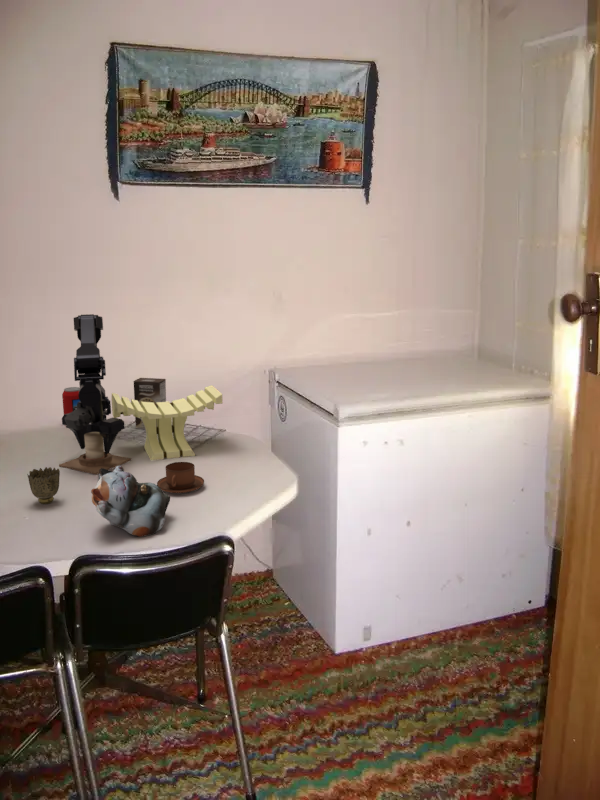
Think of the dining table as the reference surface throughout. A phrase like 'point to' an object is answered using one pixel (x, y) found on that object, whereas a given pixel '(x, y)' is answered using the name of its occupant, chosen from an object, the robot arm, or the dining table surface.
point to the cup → (44, 484)
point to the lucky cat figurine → (130, 502)
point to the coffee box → (149, 394)
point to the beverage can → (70, 399)
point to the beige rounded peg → (94, 446)
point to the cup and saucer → (180, 478)
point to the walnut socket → (94, 463)
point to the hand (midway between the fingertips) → (94, 451)
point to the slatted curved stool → (166, 420)
